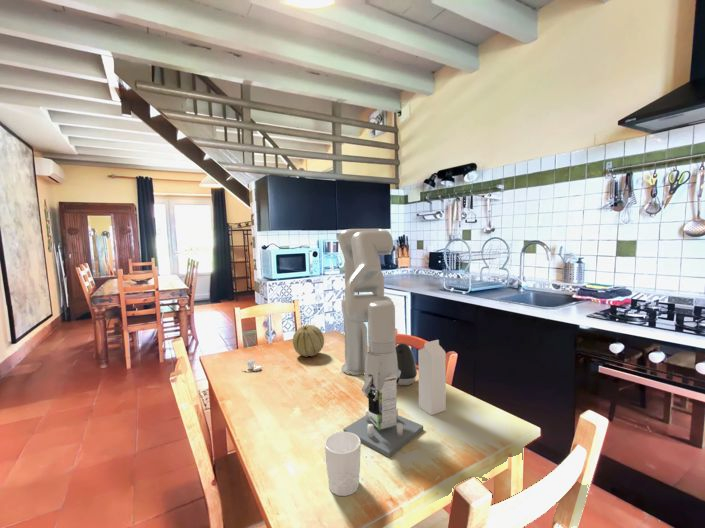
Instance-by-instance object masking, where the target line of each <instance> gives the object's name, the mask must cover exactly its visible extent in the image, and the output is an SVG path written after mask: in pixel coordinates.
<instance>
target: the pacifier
mask: <svg viewBox="0 0 705 528" xmlns="http://www.w3.org/2000/svg"><path fill="white" fill-rule="evenodd" d="M255 362H256V361H255V359H252V358H251V359H248V360H246V365H247V366H248V368H247V369H248V370H249V369H253V370H252V371H255V372H258V371H260V370H262V366H261V365H259V366H256V367H255V365H256V363H255ZM257 370H258V371H257Z"/></svg>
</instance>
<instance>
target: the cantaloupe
mask: <svg viewBox="0 0 705 528" xmlns="http://www.w3.org/2000/svg"><path fill="white" fill-rule="evenodd" d="M292 336H293V337H292V346H293V348H294V350H295V352H296V353H297V354H298V355H300V356H302V357H307V358H309V357H308V356H311V357H314V356H316V355H318V354H319V353H320V352H321V351H322V349H323V348H324V345H325V344H324V343H325V338H324V335H323V332H322V331H321V329H320V328H319V327H318V326H316V325H311V324H305V325H303V326H301V327H299V328H298V329H297V330H296V331H295V332H294V334H293V335H292Z"/></svg>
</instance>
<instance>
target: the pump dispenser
mask: <svg viewBox="0 0 705 528" xmlns="http://www.w3.org/2000/svg"><path fill="white" fill-rule="evenodd" d="M396 354H397V362H398V369H399V370H400V371H401V374H400V377H399V381H398V384H397V385H399V386H402V385H406V386H409V385H411V384H412V383H414V382H415V380H416V377H417V375H418V371H417V370H418V369H417V365H416V360H415V356H414V354H413V350H412V349H411V347H410V346H409V344H407V343H404V342H402V343H398V344H397V345H396Z"/></svg>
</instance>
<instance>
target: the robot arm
mask: <svg viewBox="0 0 705 528" xmlns="http://www.w3.org/2000/svg"><path fill="white" fill-rule="evenodd" d="M338 241H339V242H338V243H339V247H340V249H341V252H342V255H343V257H344V284H345V285H344V286H345V287H344V297H343V299H342V300H341V310H342V311H341V312H342V317H343V330H344V333H343V334H344V361H345V363H344V364H343V365H342V366H341V371H342V372H343V373H344V372H345V373H344V374H346V373H348V374H347V375H349V374H352V375H351V376H360V375H359V374H364V373H365V374H364V384H363V386H362V388H361V391H362V392H361V393H363V394H364V396H365V397H366V399H367V400H368V409H369V412H371V413H374V414H376V415H378V414H379V400H377V398H378V391H379V390H382V388H383V385H384V381H385V378H386V377H387V376H389V375H392V374H394V375H396V390H397V389H398V381H399V377H400V374H401V371H400V370H399V369H398V362H397V354H396V346H397V345H396V308H395V306H396V305H395V304H394V301H393V300H392V299H391V297H389V296H387V295H385V278H384V273H383V272H382V266H381V261H380V256H379V255H382V256H383V255H385V256H386V255H390V254H392V252H393V249H394V240H393V236H392V234H391V232H389V231H388V230H386V229H383V228H348V229H344V230H342V231H340V232H339V235H338ZM355 293H362V294H355ZM363 293H366V294H363ZM366 323H367V326H366ZM373 386H375V388H374V387H373ZM373 390H375V393H374V395H373V394H372V391H373ZM397 400H398V399H397V395H396V403H397Z"/></svg>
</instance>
